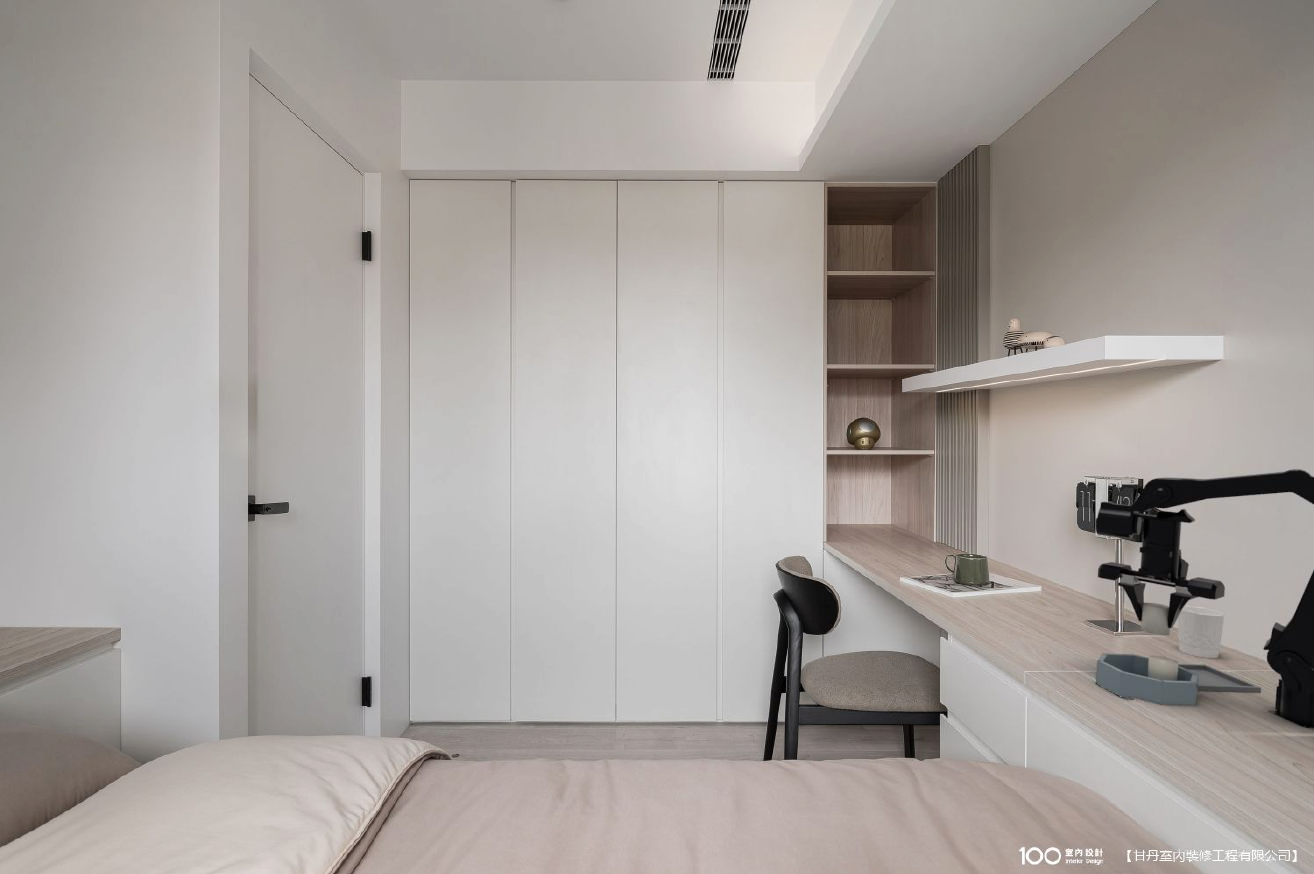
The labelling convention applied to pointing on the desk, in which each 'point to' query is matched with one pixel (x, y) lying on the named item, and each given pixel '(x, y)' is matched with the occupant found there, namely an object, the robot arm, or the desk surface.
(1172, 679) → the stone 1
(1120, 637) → the desk surface
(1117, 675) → the bowl
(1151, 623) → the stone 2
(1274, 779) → the desk surface
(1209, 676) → the parts tray
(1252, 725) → the desk surface
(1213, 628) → the white cup
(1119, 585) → the robot arm
